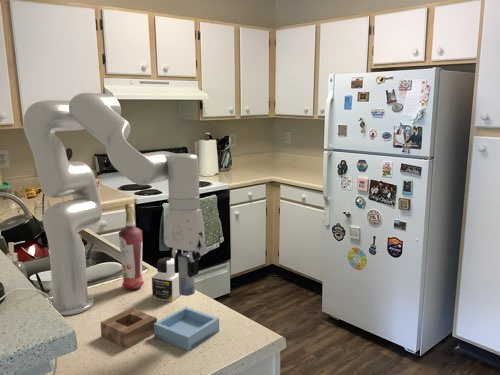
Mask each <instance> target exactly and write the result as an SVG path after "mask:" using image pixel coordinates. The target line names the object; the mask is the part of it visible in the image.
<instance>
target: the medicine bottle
mask: <svg viewBox="0 0 500 375" xmlns="http://www.w3.org/2000/svg"><path fill="white" fill-rule="evenodd" d="M156 262H157V263H156V265H157V266H156V267H157V273H156V274H154V275H153V276H151V287H152V288H151V289H152V290H151V291H152V294H151V295H152V299H155V300H161V301H166V302H174V301H175V300H176V299H177V298H178V297H180V296H181V295H180V294H179V273H175V269H174V258H173V257H163V258H159V259H158V260H157V261H156Z"/></svg>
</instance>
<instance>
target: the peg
mask: <svg viewBox="0 0 500 375" xmlns="http://www.w3.org/2000/svg"><path fill="white" fill-rule="evenodd" d="M189 261H190V260H189V254H188V252H183V253H181V254H179V255H178V273H179V294H180V296H187V297H188V296H191V295H194V294H195V293H196V290H195V289H196V288H195V286H196V284H195V282H196V281H195V276H193V277H189V276H188V262H189Z"/></svg>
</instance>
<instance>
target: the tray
mask: <svg viewBox="0 0 500 375" xmlns="http://www.w3.org/2000/svg"><path fill="white" fill-rule="evenodd" d="M218 332H220V318H218V317H216V316H214V315H210V314H208V313H205V312H203V311H202V312H201V311H199V310H196V309H193V308H190V307H187V306H184V307H182V308H181V309H179V310H177V311H175V312H173V313H172V314H169V315H167V316H166V317H164V318H162V319H160V320H157V322H156V323H154V334H153V337H155V338H157V339H160V340H161V341H162V340H163V341H164V342H167V343H169V344H171V345H174V346H176V347H178V348H181V349H183V350H186V351H187V352H189V351H190V350H192V349H194V348H195V347H197V346H198V345H200V344H201V343H203V342H205V341H206V340H208V339H209V338H210V337H212V336H213V335H215V334H216V333H218Z"/></svg>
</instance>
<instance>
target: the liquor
mask: <svg viewBox="0 0 500 375" xmlns="http://www.w3.org/2000/svg"><path fill="white" fill-rule="evenodd" d="M134 206H135V205H134V203H133V202H132V203H130V202H129V203H125V204H124V208H125V215H126V216H125V227H123V228H122V229H121V230H120V231H119V232H118V238H119V249H120V250H119V251H120V256H121V267H122V269H121V270H122V280H123V281H122V287H123V288H125V289H126V290H129V291H134V290H138V289H140V288H141V287H142V286H143V285H144V284H145V282H144V280H143V230H142V229H141V228H138V227H136V222H135V216H134V211H135V207H134Z"/></svg>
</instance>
